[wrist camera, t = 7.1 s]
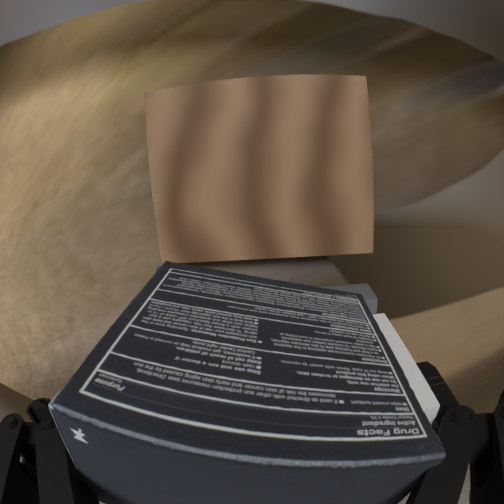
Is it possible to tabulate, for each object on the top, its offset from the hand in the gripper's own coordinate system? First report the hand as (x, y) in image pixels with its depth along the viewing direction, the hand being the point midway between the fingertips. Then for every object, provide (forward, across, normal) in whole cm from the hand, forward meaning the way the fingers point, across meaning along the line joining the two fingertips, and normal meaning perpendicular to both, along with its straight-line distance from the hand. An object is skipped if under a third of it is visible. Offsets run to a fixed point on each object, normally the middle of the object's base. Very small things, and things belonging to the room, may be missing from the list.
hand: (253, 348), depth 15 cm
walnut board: (+19, 0, -8) cm, 20 cm away
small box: (+2, 0, 0) cm, 2 cm away
